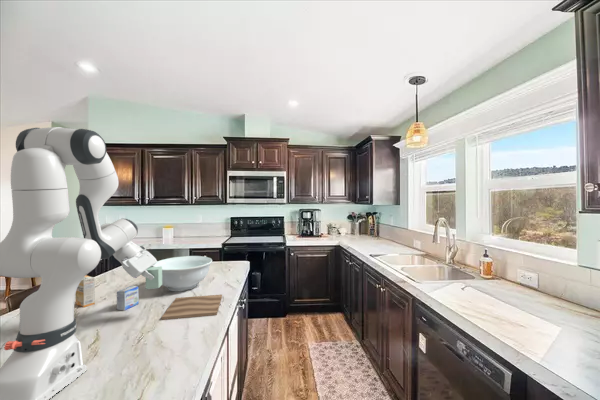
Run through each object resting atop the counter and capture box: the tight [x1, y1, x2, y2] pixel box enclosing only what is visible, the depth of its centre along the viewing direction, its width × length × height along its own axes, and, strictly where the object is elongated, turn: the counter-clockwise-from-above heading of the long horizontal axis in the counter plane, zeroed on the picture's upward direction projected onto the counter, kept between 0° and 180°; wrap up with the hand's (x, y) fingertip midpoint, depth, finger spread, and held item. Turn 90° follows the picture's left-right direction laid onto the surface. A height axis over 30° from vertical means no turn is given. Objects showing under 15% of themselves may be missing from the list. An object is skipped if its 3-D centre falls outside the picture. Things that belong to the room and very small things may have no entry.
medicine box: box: [116, 285, 140, 311], centre depth 122 cm, size 8×4×9 cm, turn 168°
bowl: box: [154, 255, 213, 292], centre depth 150 cm, size 32×32×15 cm
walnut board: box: [161, 294, 223, 321], centre depth 121 cm, size 22×22×1 cm
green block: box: [145, 267, 163, 290], centre depth 113 cm, size 5×5×8 cm
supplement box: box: [75, 274, 96, 308], centre depth 125 cm, size 8×5×13 cm, turn 62°
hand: (155, 276), depth 113 cm, fingers closed on green block, 5 cm apart
